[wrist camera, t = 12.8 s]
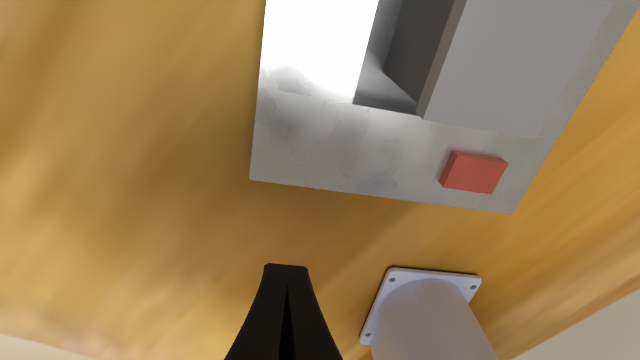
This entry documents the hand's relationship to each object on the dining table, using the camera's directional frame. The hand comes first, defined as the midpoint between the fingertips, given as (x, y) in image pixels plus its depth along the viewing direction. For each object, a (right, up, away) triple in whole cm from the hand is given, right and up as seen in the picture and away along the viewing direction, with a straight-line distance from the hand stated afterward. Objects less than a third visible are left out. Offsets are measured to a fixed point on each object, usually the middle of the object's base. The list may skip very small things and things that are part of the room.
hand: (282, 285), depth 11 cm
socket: (+6, +10, +6) cm, 13 cm away
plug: (+7, +11, +5) cm, 14 cm away
